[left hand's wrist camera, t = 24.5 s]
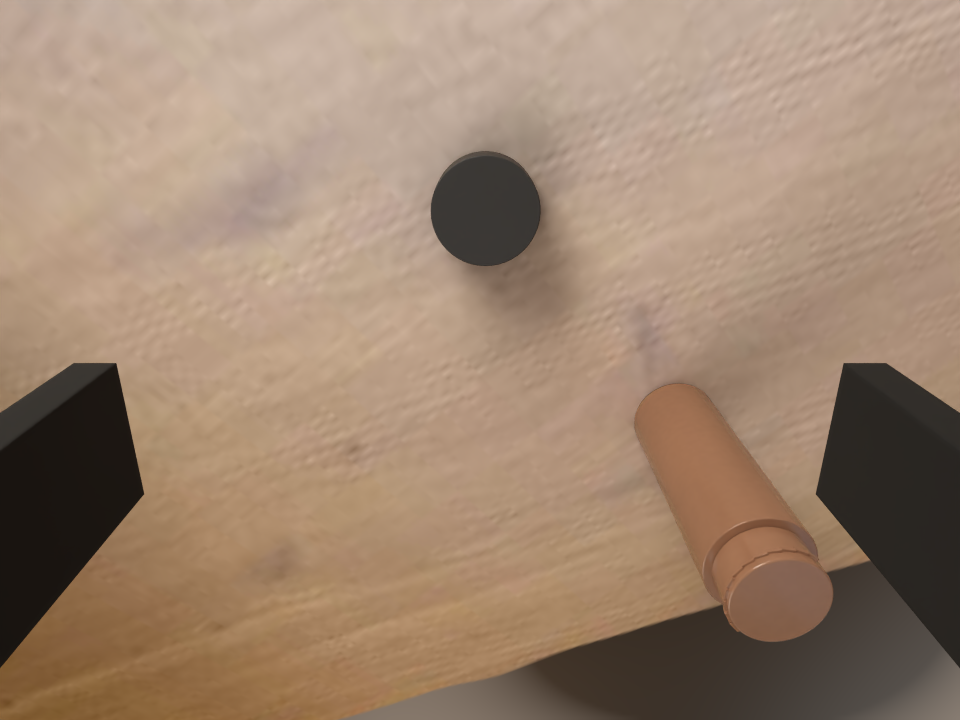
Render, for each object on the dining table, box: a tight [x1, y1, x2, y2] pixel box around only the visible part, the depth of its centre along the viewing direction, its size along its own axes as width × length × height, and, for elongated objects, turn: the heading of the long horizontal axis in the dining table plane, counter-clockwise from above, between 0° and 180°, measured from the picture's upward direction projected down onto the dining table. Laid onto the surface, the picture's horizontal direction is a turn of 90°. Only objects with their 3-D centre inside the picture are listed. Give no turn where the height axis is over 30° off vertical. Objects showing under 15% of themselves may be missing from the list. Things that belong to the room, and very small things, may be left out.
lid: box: [431, 151, 540, 266], centre depth 36 cm, size 6×6×2 cm
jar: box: [634, 384, 833, 642], centre depth 34 cm, size 5×5×16 cm
